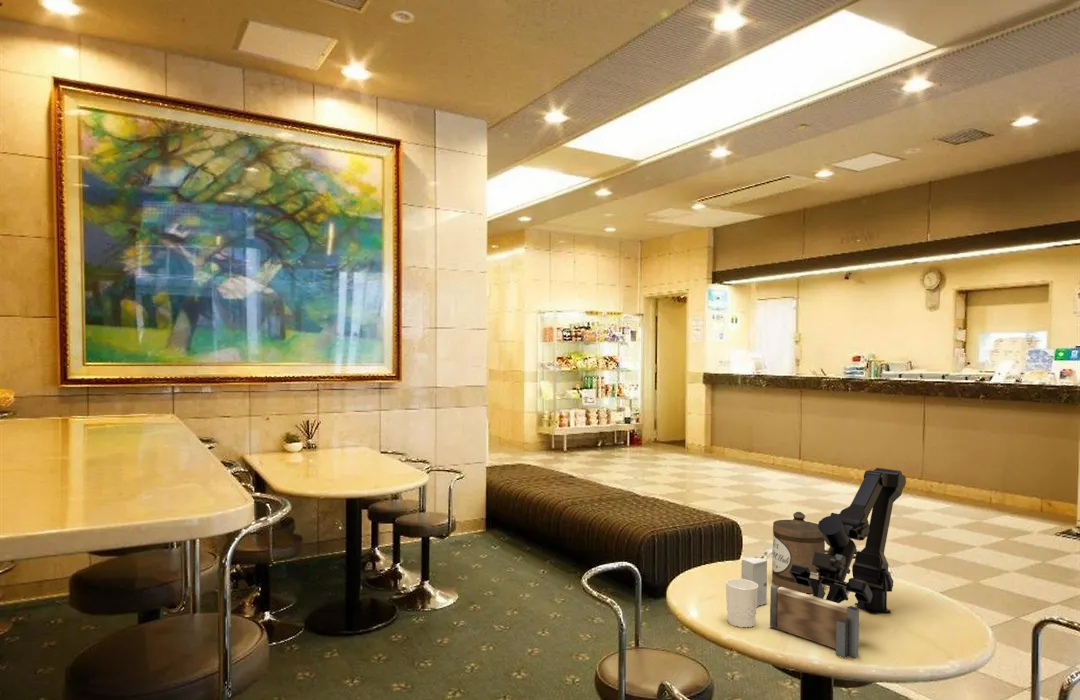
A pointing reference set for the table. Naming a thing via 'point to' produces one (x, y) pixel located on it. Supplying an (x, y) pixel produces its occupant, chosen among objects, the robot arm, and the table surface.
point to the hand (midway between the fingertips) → (818, 612)
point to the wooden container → (794, 550)
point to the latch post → (848, 634)
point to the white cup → (741, 602)
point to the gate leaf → (805, 615)
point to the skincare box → (756, 576)
